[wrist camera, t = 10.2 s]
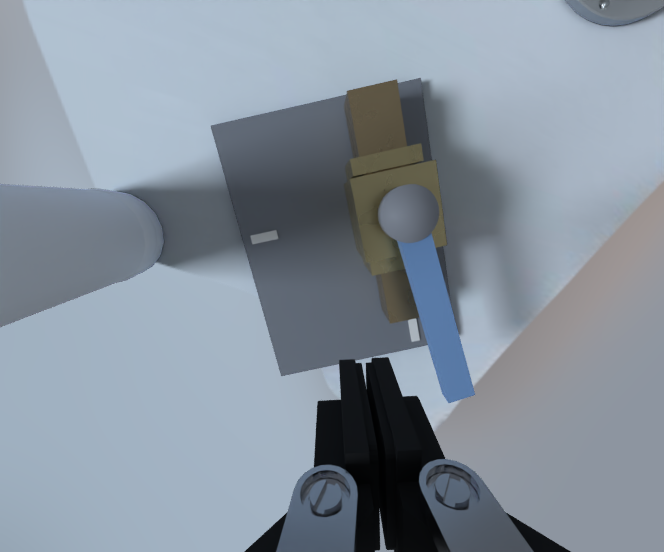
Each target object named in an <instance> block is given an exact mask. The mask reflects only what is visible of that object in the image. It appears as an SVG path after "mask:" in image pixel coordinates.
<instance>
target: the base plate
mask: <svg viewBox="0 0 664 552" xmlns="http://www.w3.org/2000/svg"><path fill="white" fill-rule="evenodd" d="M398 89H399V96H400V103H401V109H402V116H403V123H404V129H405V136H406V143H407V146H411V145H415V144H420V143H421V145H422V152H423V159H424V161H421V162H419V163H423V162H428V161H432V159H431V152H430V144H429V137H428V129H427V122H426V114H425V107H424V99H423V92H422V84H421V78H418V79H414V80H410V81H405V82H401V83H398ZM345 98H346V95H344V96H339V97H335V98H331V99H326V100H322V101H317V102H313V103H309V104H304V105H300V106H295V107H291V108H287V109H282V110H278V111H273V112H269V113H265V114H260V115H256V116H252V117H247V118H243V119H238V120H234V121H230V122H225V123H221V124H216V125H212V126H211V129H212V133H213V136H214V140H215V143H216V147H217V150H218V154H219V157H220V161H221V165H222V168H223V172H224V175H225V179H226V182H227V186H228V189H229V193H230V196H231V200H232V203H233V207H234V211H235V214H236V218H237V221H238V225H239V228H240V232H241V235H242V239H243V242H244V246H245V249H246V253H247V257H248V260H249V264H250V267H251V271H252V274H253V278H254V281H255V285H256V288H257V292H258V295H259V299H260V302H261V306H262V310H263V313H264V316H265V320H266V324H267V327H268V331H269V334H270V337H271V341H272V345H273V348H274V352H275V355H276V359H277V362H278V366H279V370H280V373H281V376H285V375H289V374H294V373H299V372H303V371H308V370H312V369H317V368H322V367H327V366H332V365H336V364H339V360H346V359H355V360H360V359H364V358H369V357H374V356H379V355H383V354H388V353H393V352H397V351H402V350H407V349H411V348H416V347H421V346H426V345H428V343H427V340H426V337H425V333H424V330H423V326H422V323H421V320H420V318H415V319H410V320H406V321H401V322H396V323H392V324H390V323H389V321H388V319H387V318H386V316H385V314H384V312H383V311H382V307H381V302H380V297H379V291H378V286H377V281H376V275H374V276H372V275H371V273H370V272H369V271H368V269H367V268H366V266H365V265H364V263H363V258H362V257H361V255H360V254H359V253H358V251H357V249H356V244H355V239H354V234H353V229H352V224H351V219H350V214H349V209H348V204H347V199H346V194H345V189H344V184H345V183H346V182H347V176H346V171H345V166H346V165H347V163H348V161H349V160H350V159H353V153H352V148H351V143H350V137H349V132H348V127H347V121H346V116H345V111H344V103H345ZM419 163H417V164H419ZM436 252H437V255H438V259H439V263H440V267H441V270H442V274H443V278H444V281H445V285H446V289H447V293H448V296H449V300H450V294H449V287H448V279H447V272H446V264H445V257H444V249H443V246H441V247H437V248H436ZM450 304H451V302H450Z"/></svg>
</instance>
